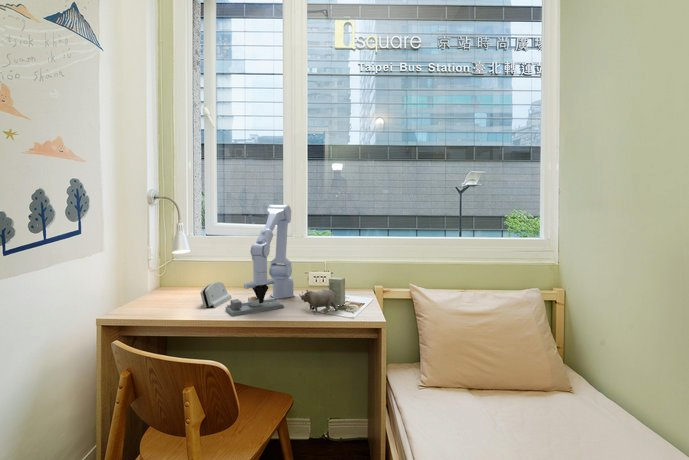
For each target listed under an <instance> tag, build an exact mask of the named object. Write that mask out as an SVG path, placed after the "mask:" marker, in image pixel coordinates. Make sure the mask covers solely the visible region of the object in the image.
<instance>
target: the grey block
mask: <svg viewBox="0 0 689 460" xmlns="http://www.w3.org/2000/svg"><path fill="white" fill-rule="evenodd" d="M247 302H248V304H250V305H251V306H257V305H259V299H258V298H257V297H256V296H250V297H248V298H247Z"/></svg>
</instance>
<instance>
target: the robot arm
mask: <svg viewBox="0 0 689 460" xmlns="http://www.w3.org/2000/svg"><path fill="white" fill-rule="evenodd" d="M266 209H267V210H266V212H267V220H266V223H265V226H264V228H263V229H261V230H260V231H259V232H260V233H259V234H258V237H257V239H256V241H255V243H253V244H252V245H251V247H250V250H249V251H250V256H251V260H252V261H253V263H252V265H253V267H252V268H253V270H252V271H253V272H252V274H253V277H252V278H253V281H250V282H247V283H243V289H245V290H248V289H252V290H253V292H254V294H255V297H256V298H258V299H259V303H260V304H261V303H263V301H264V299H265V296H266V294H267V293H268V292H267V291H268V290H269V286H270V285H272V294H271V293H270V294H269V296H270V297H271V298H275V300H280V299H284V298H285V299H286V298H293V297H295V294H294V292H295V291H294V280H293V278H292V277H291V276H292V273H293V267H292V261H291V260H289V259H288V258H287V244H288V242H287V241H288V229H289V228H288V225H289V223H291V222H292V221H291V220H292V209H291V206H290V205H289V204H269V205H268V207H267V208H266ZM275 228H276V241H275V257H274V258H273V259H272V260H270V263H269V267H268V256H270V251H271V249H270V248H271V242H272V241H273V238H274V233H273V232H274V230H275ZM268 275H269V276H270V277H271V278H269V279H268Z"/></svg>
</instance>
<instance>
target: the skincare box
mask: <svg viewBox="0 0 689 460" xmlns="http://www.w3.org/2000/svg"><path fill="white" fill-rule="evenodd" d="M328 290H332V291H333V292H334V293H335V295H336V298H335V300H334V303H335V304H336V305H339V306H342V305H344V304H345V305H346V278H345V277H335V276H332V277H329V278H328ZM345 305H344V306H345ZM342 307H343V306H342Z"/></svg>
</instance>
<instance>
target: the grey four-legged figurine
mask: <svg viewBox="0 0 689 460" xmlns="http://www.w3.org/2000/svg"><path fill="white" fill-rule="evenodd" d="M301 293H302V294H300V293H299V294H298V296H299V297H300V299H301V301H303V302H304V303H309V304H310V305H309V311H311V310H312V309H313V308H314V310H315V311H314V312H313V314H314V315H315V314H317V313H318V312H319V311H318V308H324V307H325V309H324V312H325V313H324V314H327V313H328V312H329V310H330V309H331V307H333V310H334V309H335V310H336V309H337V310H338V306H336V304H335V303H334V300H335V298H336V295H335V293H334V292H333V291H332V290H329V289H324V288H321V289H320V290H317V291H313V290H312V291H311V290H308V289H306V291H305V292H304V291H301ZM303 293H304V294H303ZM330 305H332V306H330ZM337 310H336V311H337Z"/></svg>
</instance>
